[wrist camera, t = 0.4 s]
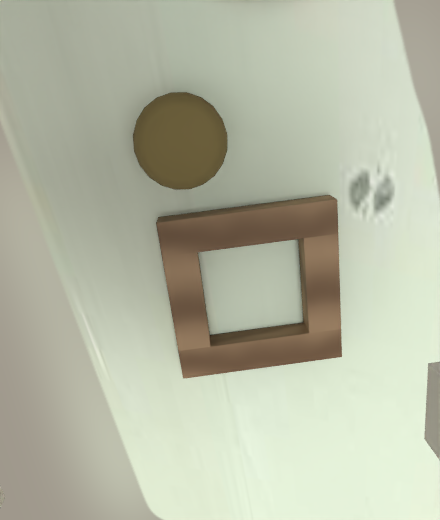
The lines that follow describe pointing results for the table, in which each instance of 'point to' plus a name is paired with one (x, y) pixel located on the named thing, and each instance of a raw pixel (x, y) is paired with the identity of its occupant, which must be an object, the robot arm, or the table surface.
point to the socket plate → (244, 234)
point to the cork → (180, 140)
